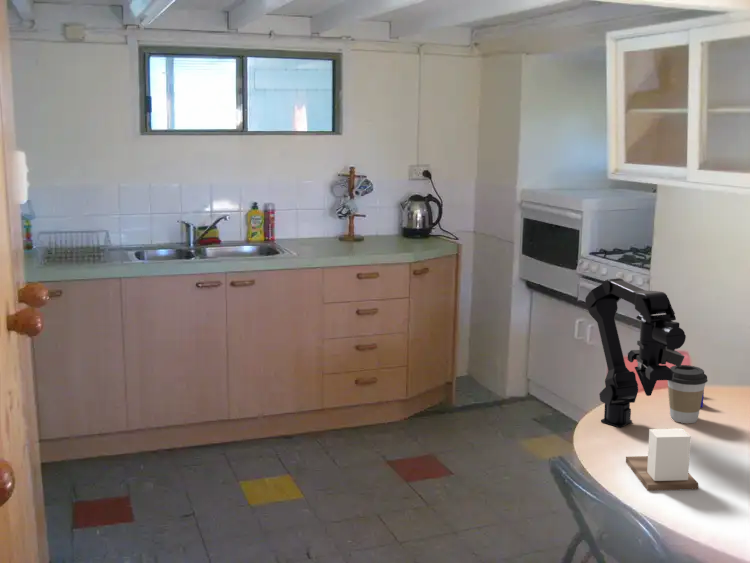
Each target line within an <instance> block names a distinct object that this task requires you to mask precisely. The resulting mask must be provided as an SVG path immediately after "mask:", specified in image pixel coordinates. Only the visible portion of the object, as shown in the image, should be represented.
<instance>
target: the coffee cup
mask: <svg viewBox="0 0 750 563" xmlns="http://www.w3.org/2000/svg"><path fill="white" fill-rule="evenodd" d="M669 368H670V369H671V370H672V371H673V372H674V379H673V380H667V389H668V390H667V391H668V402H669V416H670V419H671V418H672V419H673V420H675V421H677V422H676V423H678V422H681V423H680V424H683V423H692V424H695V423H697V422H698V419H699V414H700V411H701V410H700V409H701V407H700V406H701V401H702V396H703V392H704V393H705V386H706V383H707V382H708V375H706V374H705V370H704V369H703V368H701V367H697V366H695V365H694V366H693V365H690V364H689V365H687V364H681V366H680V367H677V366H676V365H673V366H671V367H669ZM703 397H704V396H703ZM672 419H671V420H672ZM673 420H672V421H673ZM675 421H674V422H675Z"/></svg>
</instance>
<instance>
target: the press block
mask: <svg viewBox="0 0 750 563" xmlns="http://www.w3.org/2000/svg"><path fill="white" fill-rule="evenodd" d="M691 437H692V436H691V435H690V434H689V433H688V432H686V431H685V429H683V428H655V429H654V428H652V429H651V428H649V429H648V451H647V452H648V453H647V456H648V465H647V472H648V474H649V475H650V476H651V477H652V479H653V480H654V481H676V480H688V473H690V471H689V470H690V469H689V468H690V455H691V454H690V453H691V441H692V440H691V439H692V438H691Z"/></svg>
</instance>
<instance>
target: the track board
mask: <svg viewBox="0 0 750 563" xmlns="http://www.w3.org/2000/svg"><path fill="white" fill-rule="evenodd" d="M625 463H626V464H627V466H628V467H629V468H630V470H631V471H632V473H633V474H634V475H635V476H636V477H637V479H638V480H639V482H640V483H641V484H642V485H643V487H644V488H645V489H646V491H648V492H649V491H651V492H652V491H676V490H677V491H681V490H680V489H691V490H699V483H698V481H697V480H696V479H695V478H694V477H693V476H692V475H691V473H690V472H688V480H676V481H654V480H653V479H652V477H651V476H650V475H649V474H648V472H647V465H648V455H644V456H643V455H642V456H641V455H638V456H637V455H635V456H625Z"/></svg>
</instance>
